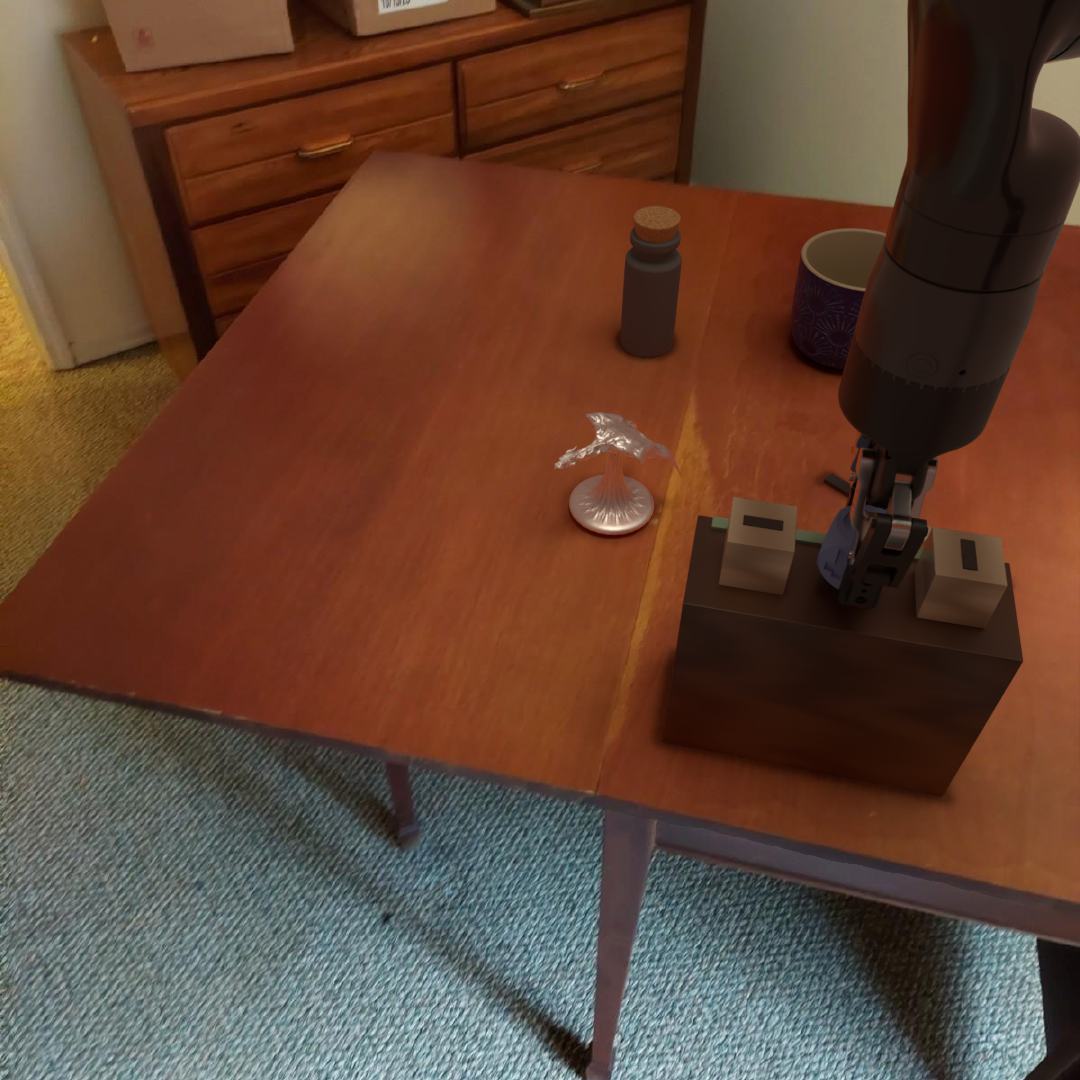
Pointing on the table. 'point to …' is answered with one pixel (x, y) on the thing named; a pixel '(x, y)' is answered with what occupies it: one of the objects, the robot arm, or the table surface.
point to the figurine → (613, 477)
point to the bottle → (651, 283)
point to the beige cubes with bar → (845, 489)
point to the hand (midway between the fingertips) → (855, 567)
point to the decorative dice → (838, 546)
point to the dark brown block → (839, 653)
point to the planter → (832, 292)
